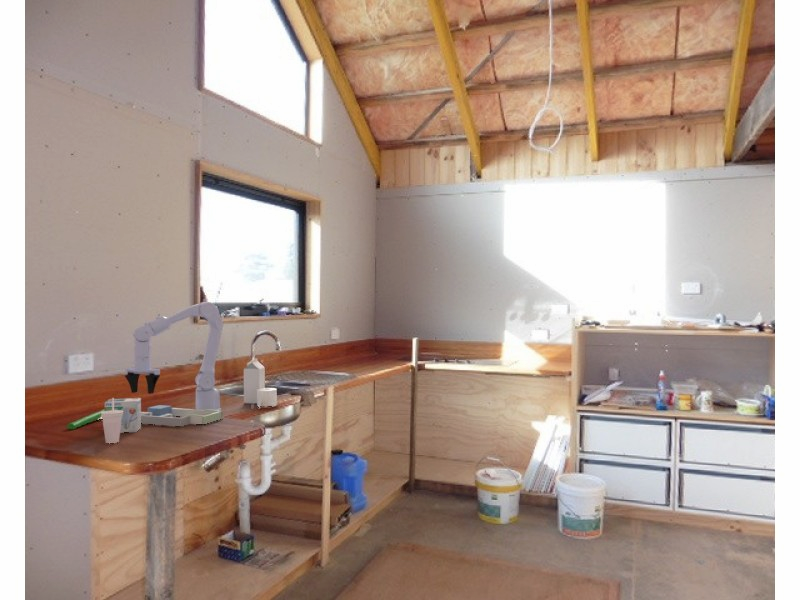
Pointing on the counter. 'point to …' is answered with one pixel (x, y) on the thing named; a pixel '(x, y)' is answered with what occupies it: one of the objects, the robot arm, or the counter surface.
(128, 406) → the light bulb box
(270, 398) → the toilet paper
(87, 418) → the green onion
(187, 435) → the counter surface
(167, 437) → the counter surface
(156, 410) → the block
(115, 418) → the smoothie
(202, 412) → the trap box
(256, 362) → the milk carton
